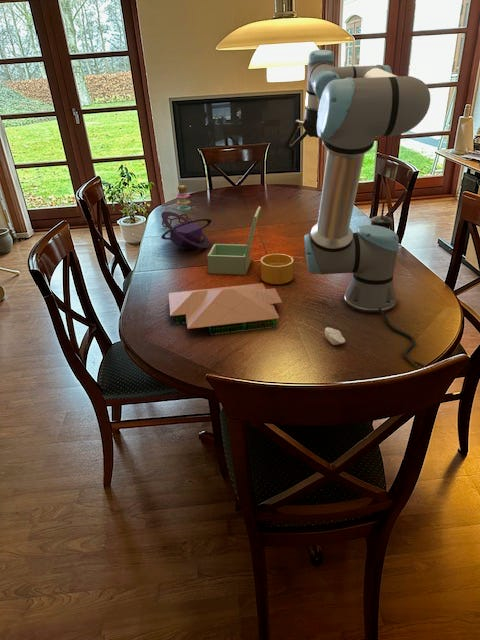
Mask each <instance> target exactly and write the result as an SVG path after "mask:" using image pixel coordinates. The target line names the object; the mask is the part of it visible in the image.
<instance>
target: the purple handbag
mask: <svg viewBox="0 0 480 640" xmlns="http://www.w3.org/2000/svg"><path fill="white" fill-rule="evenodd" d="M187 188H188V187H187V185H184V184H182V185H177V190H178V193H177V194H176V199H177V201H176V202H177V205H178V207H177V211H178V212H187V211H190V210H191V209H192V207H191V206H189V205H190V204H191V201H190V199H188V198H190V196H191V194H189V193H187ZM180 215H181V214H177V213H176V212H172V211H167V210H165V211H162V212H161V219H162V221H164V223H165V224H166V225H167V226H168V227H167V229H169V230H167V231H165V232H164V233H163V234H162V235H161V237H160V238H161V240H165V241H166V240H167V241H168V240H170V241H171V242H172V243H173V244H174V245H175V246H177V248H178V249H181V250H183V251H185V252H186V251H192V250H196V249H197V248H200V249H208V248H210V245H211V243H210V240H209V238H208V237H207V235H206V234H205V232H203V230H204V229H205V228H207V227H209V226H210V225H211V223H212V219H210V218H200V219H195V220H193V221H190V220H189V219H188V220H187V217H186V218H185V217H184V216H185V215H183V216H180ZM169 217H174V218H180V220H182V221H183V222H185V221H186V223H184V224H181V223H175V225H174V224H173V223H172V224H173V225H174V226H172V224H171V225H170V221H169V219H168V218H169ZM193 222H196V223H197V222H207V223H206V224H205V225H204V226H201V225H199V224H198V223H197V224H198V225H197V224H196V223H193ZM164 223H163V224H164ZM165 224H164V225H165ZM166 225H165V226H166ZM168 233H170V234H169V237H166V235H167V234H168ZM202 238H203V242H202V243H201V241H202Z"/></svg>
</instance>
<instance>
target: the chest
mask: <svg viewBox="0 0 480 640" xmlns="http://www.w3.org/2000/svg"><path fill="white" fill-rule="evenodd" d="M246 247H247V244H236V243H235V244H233V243H232V244H231V243H228V244H227V243H213V245H212V247H211V249H210V251H209V252H208V253H207V257H206V258H207V269H208V274H214V275H215V274H217V275H218V274H219V275H220V274H221V275H244V276H245V275H247V273H248V270H249V267H250V265H251V261H252V259H251V258H252V257H251V247H250V248H249V251H248V253H247V256H245V251H246Z"/></svg>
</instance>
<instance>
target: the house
mask: <svg viewBox="0 0 480 640" xmlns="http://www.w3.org/2000/svg"><path fill="white" fill-rule="evenodd" d="M168 298H169V299H168V303H169V316H170V317H172V319H173V320H179V319H181V320H182V321H183V319H185V322H184V321H183V324H186V328H187V330H191V329H201V328H208V329H209V334H210V335H212V330H213V331H215V330H216V333H215V335H218V334H219V335H220V334H227V333H229V331H227V332H226V331H221V330H220V329H218V327H219V326H222V329H228V325H230V326H229V327H232V328H233V329H234V328H236V330H233V331H232V333H236V332H243V331H244V332H245V331H247V323H248V326H254V327H253V328H251V329H250V328H249V331H252V330H256V328H255V327H256V323H255V322H258V325H261V321H262V322H263V321H265V324H267V323H268V325H267V326H266V329H270V328H271V326H269V324H271V321H272V324H273V326H274V328H276V327H277V321H276V320H277V319H280V316H279V314H278V313H277V310H276V308H275V305H279V304H283V301H282V299H281V297H280V295H279V293H278V292H277V289H276V288H275V287H274V288H266V287H265V285H264V283H263V282H261V283H249V284H241V285H232V286H223V287H222V286H221V287H212V288H203V289H193V290H184V291H183V290H182V291H175V292H174V291H173V292H168ZM177 316H179V318H178V317H177ZM181 316H184V317H181ZM175 317H176V318H175ZM266 321H267V322H266ZM252 323H253V324H252ZM173 324H174V325H177V324H179V322H176V321H173ZM235 324H236V325H235ZM237 324H239V327H240V326H241V327H243V328H244V329H239V330H238V329H237V327H238V325H237ZM226 325H227V326H226ZM223 326H224V327H223ZM211 327H212V328H211ZM214 327H215V328H214ZM260 329H263V327H259V328H258V330H260ZM217 330H218V331H219V332H218V331H217ZM220 331H221V332H220Z"/></svg>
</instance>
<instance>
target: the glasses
mask: <svg viewBox="0 0 480 640" xmlns="http://www.w3.org/2000/svg"><path fill="white" fill-rule="evenodd" d="M179 215H180V216H182V217H184V216H185V217H186V219H187V220H189V221H190V222H191V221H194V220H193V219H192V218H191V217H189V216H188V215H187V214H186V213H182V214H179ZM183 215H184V216H183ZM168 220H169V223H170V225H171V226H172V221H174V220H178V223H179V224H184V223H187V222H186V221H181V219H180V218H178V217H173V218H170V217H168ZM193 223H196V224H197V225H199V224H198V223H197V222H193ZM161 225H162V226H163V228H168V226H167V225H166V224H165V223H164V221H163V220H162V221H161Z"/></svg>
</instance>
